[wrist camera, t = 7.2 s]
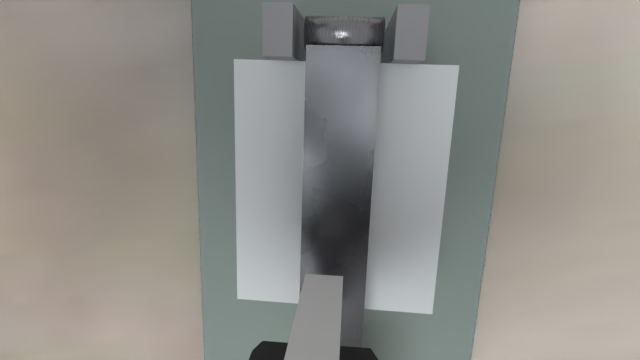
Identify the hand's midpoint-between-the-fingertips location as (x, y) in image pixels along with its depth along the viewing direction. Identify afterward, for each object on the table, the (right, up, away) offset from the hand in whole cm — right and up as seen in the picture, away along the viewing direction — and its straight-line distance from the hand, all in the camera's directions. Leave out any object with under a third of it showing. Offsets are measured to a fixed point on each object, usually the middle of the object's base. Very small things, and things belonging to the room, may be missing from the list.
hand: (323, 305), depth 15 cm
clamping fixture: (+1, +5, +9) cm, 10 cm away
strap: (+1, +4, +3) cm, 5 cm away
